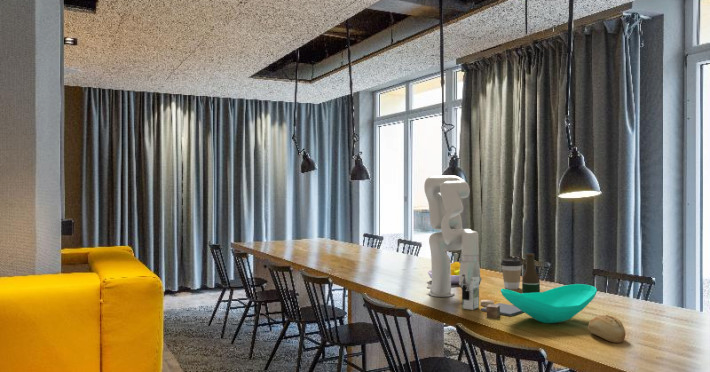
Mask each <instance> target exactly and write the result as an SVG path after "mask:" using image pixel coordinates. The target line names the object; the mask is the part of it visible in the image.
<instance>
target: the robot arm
mask: <svg viewBox="0 0 710 372" xmlns="http://www.w3.org/2000/svg"><path fill="white" fill-rule="evenodd" d="M423 187H424V194H425V197H426V200H427V203H428V210H429V211H428V212H429V220H430V221H429V222H430V226H431V228H432V229H434V230H440V231H438V232H434V233H431V235H429V238H428V245H429V249H430V257H431V258H430V261H431V263H430V264H431V270H432V278H431V284H428V285H426V289H428V290H430V291H428V295H429V296H430V297H436V298H446V297H447V298H448V297H452V296H455V292H454V291H452V284H451V264H452V263H451V258H450V256H449V255H448V254H447V252H449V251H450V252H451V251H460V250H461V262H460V273H459V283H458V285H459V287H460V288H461V293H462V292H463V299H464V300H469V291H468V289H469V285H470V284H471V278H473V277H478V276H479V286H480V285H481V282H482V277H481V268H480V261H479V260H480V259H479V253H480V251H479V233H478V231H477V230H476V231H475V230H472V229H470V228H463V220H462V216H461V213H463V211H464V205H463V203H462V199H466V198H468V197H469V196H470V193H471V192H470V191H471V189H470V185H469V184H468V181H466V180H464V179H462V178H461V177H459V176H457V175H433V176H429V177H428V178H426V179H425V182H424V186H423ZM465 282H466V284H465ZM465 285H467V286H466V287H465Z"/></svg>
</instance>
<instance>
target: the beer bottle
mask: <svg viewBox="0 0 710 372" xmlns="http://www.w3.org/2000/svg"><path fill="white" fill-rule="evenodd" d="M525 256H526V267H525V268H526V269H525V271H524V273H523V275H522V279H521V286H522V288H521V291H522V292H521V293H536V292H541V285H540V284H541V280H540V277H539V275H538V273H537V271H536V264H535V257H536V255H535V253H533V252H532V253H531V252H528V253H526V254H525Z"/></svg>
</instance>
